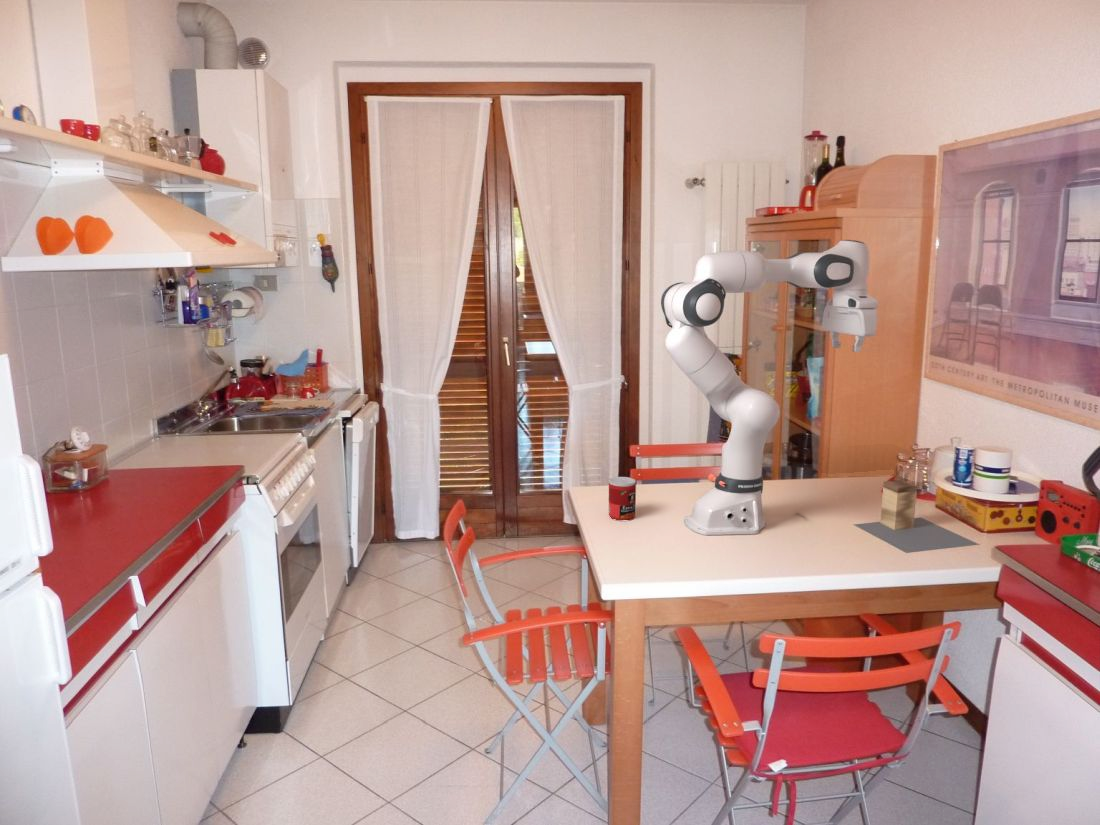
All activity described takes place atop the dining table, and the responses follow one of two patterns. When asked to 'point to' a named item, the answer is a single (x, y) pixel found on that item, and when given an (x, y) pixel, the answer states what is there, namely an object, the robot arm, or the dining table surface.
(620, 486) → the canned food
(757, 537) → the dining table surface
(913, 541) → the rubber mat
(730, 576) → the dining table surface
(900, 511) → the maple block
